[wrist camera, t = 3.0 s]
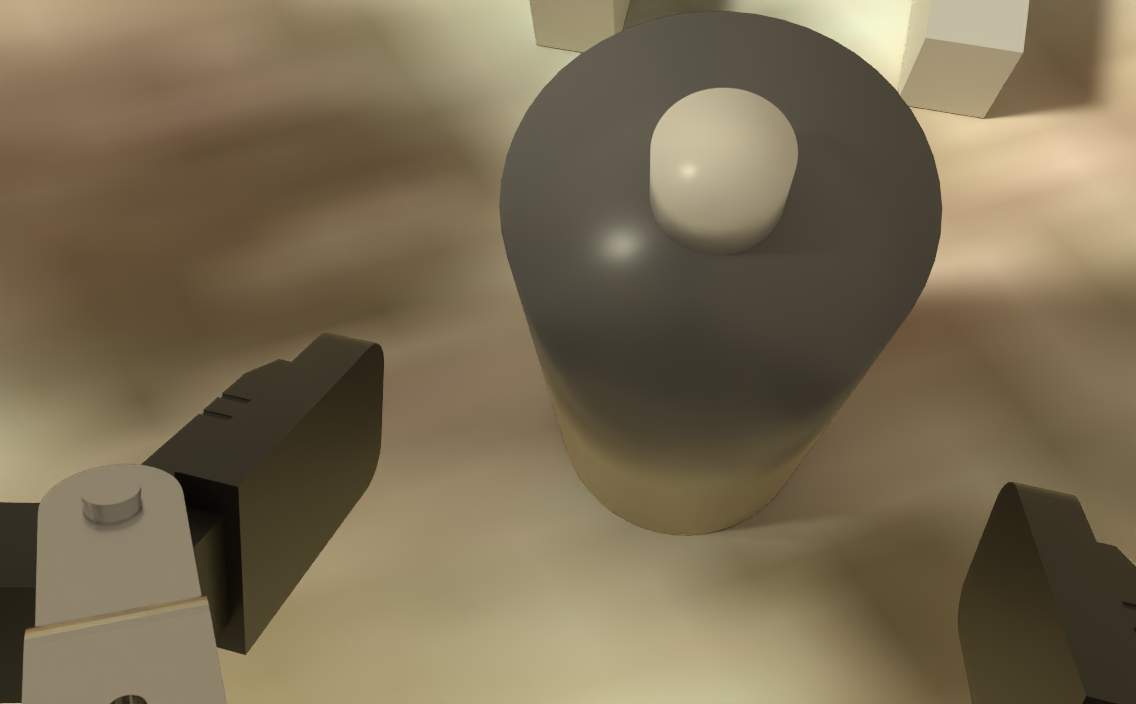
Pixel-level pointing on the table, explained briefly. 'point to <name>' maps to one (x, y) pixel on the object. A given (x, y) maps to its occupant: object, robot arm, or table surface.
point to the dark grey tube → (712, 254)
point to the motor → (931, 60)
